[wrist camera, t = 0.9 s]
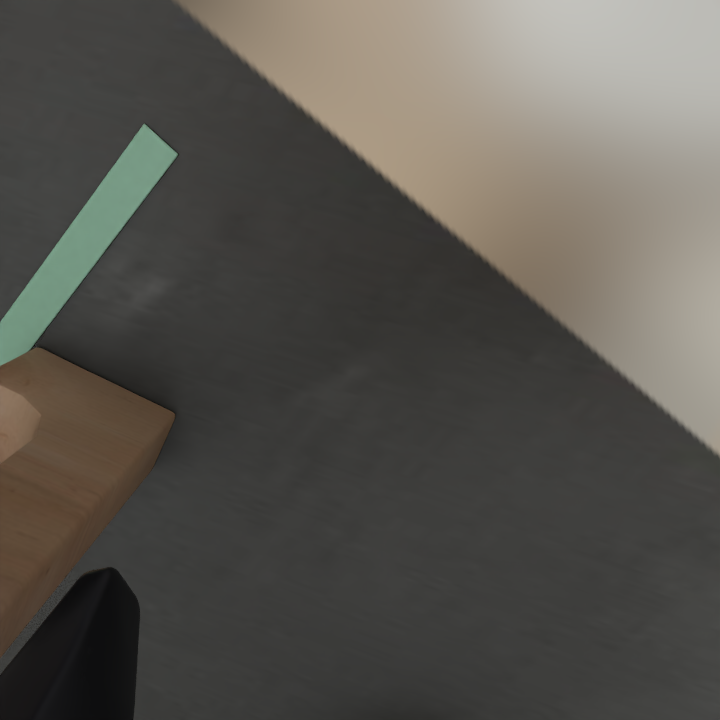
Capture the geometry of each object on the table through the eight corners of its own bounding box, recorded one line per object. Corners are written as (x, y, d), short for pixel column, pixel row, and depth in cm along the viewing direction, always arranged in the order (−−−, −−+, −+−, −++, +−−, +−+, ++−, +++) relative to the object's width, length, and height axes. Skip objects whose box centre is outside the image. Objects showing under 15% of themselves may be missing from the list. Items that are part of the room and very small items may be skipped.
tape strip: (-92, 510, 28) (-93, 511, 28) (-121, 489, 28) (-122, 490, 28) (178, 154, 22) (177, 154, 22) (145, 123, 22) (143, 123, 22)
